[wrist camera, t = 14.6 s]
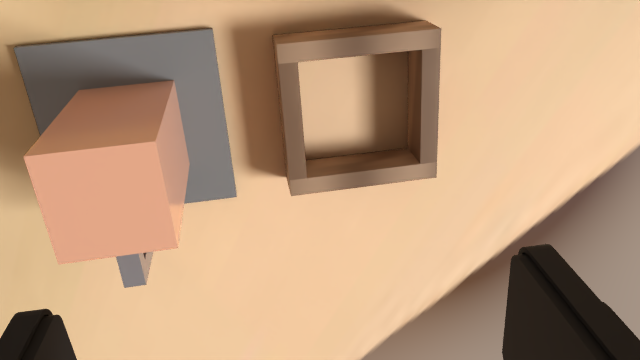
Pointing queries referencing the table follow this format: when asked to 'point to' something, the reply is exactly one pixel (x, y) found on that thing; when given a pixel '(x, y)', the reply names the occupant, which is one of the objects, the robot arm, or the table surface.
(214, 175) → the rubber mat
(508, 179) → the table surface
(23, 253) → the table surface
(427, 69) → the frame
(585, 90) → the table surface
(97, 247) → the peach block with tab
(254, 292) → the table surface
